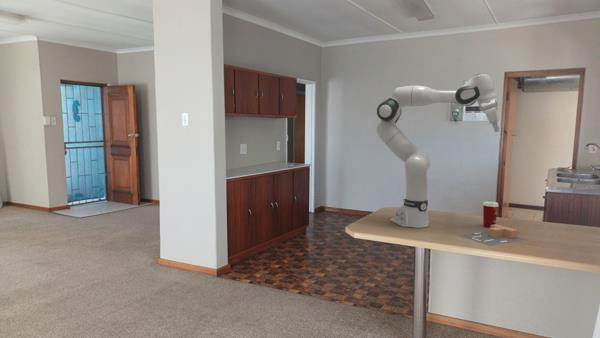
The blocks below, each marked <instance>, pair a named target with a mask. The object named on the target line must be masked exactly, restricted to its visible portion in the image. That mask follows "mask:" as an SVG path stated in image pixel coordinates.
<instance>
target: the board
mask: <svg viewBox="0 0 600 338" xmlns="http://www.w3.org/2000/svg"><path fill="white" fill-rule="evenodd" d="M488 231H489V230H487V231H485V230H484V231H480V232H479V231H478V232H472V233H466V234H460V235H459V234H458V236H459V237H461V238H465V239H468V240H471V241H473V242H477V243H480V244H483V245H486V246H495V245H501V244H507V243H513V242H517V241H518V242H519V241H524V240H526V238H525V237H520V236H518V235H517V238H515V239H509V238H506V237H501V238H492V237H489V236H488Z"/></svg>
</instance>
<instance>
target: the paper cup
mask: <svg viewBox="0 0 600 338" xmlns="http://www.w3.org/2000/svg"><path fill="white" fill-rule="evenodd" d="M482 205H483V208H482V209H483V213H482V214H483V217H482V218H483V219H482V220H483V221H482V222H483V227H484V228H487V229H489V228H490V226H491V225H495V224H497V216H498V211H499V210H498V208H499V203H498V202H496V201H487V200H486V201H483V203H482Z"/></svg>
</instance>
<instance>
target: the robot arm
mask: <svg viewBox="0 0 600 338" xmlns="http://www.w3.org/2000/svg"><path fill="white" fill-rule="evenodd" d="M476 102H477V104H478V108H479V109H480V112H483V113H484V114H485V116H486V118H487V120H488V122H489V124H492V128H493V130H494V133H497V132H499V131H500V128H499V124H498V122H499V118H498V111H497V110H498V107H499V106H500V102H499V99H498V96H497V94H496V93H495V86H494V84H493V81H492V79H491V77H490V75H489V74H488V73H478V74H474V75H472V76H471V78H470V79H469V80H468V81H467V82H466V83H465V84H463V85H462V86H461V87H459V88H457V90H438V89H434V88H431V87H428V86H425V85H424V86H423V85H406V86H405V85H404V86H399V87H396V88H395V89H394V90H393V92H392V96H391V97H390V98H387V99H386V100H384V101H382V102H381V103H379V105H377V108H376V114H377V117H378V118H379V119H380V120H381V121H380V122H379V124H378V125H377V126H376V133H377V135H378V136H379V138H380V139H381V141H382V142H383V143H384V144H385V146H386V147H387V148H388V149H389V150H390V151H391V152H392V153H393V154H394V155H395V157H397V158H399V159H400V160H401V161H402V162H403V163H405V164H404V166H405V167H404V169H405V181H406V183H405V185H406V191H405V198H404V199H402V201H403V205H400V207H399V208H397V209H396V210H395V212H394V213H395V214H394V217H392V218H390V221H391V222H393V223H395V224H397V225H398V226H400V227H405V228H407V227H408V228H420V229H421V228H428V227H429V226H430V220H429V209H428V206H429V201H428V175H427V172H428V169H429V168H430V167H431V166H430V165H431V161H430V159H429V157H428V156H427V155H426V154H425V153H424V152H423V151H422V150H421V149H420V148H419V147H418V146H416V144H414V143H413V142H412V141H411V140H410V139H409V138H408V136H407V135H405V134H404V133H403V132H402V130H401V129H400V128H399V127H398V126H397V122H398V120H399V119H400V117H401V115H402V109H403V108H405V107H423V106H428V105H432V104H438V103H443V104H444V103H454V104H458V105H461V106H463V107H470V106H473V105H475V103H476Z"/></svg>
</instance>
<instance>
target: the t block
mask: <svg viewBox="0 0 600 338" xmlns="http://www.w3.org/2000/svg"><path fill="white" fill-rule="evenodd" d="M487 231H488V236H489V237H492V238H501V237H506V238H509V239H515V238H517V236H518V232H519V231H518V229H515V228H511V227H507V226H504V225H500V224H497V223H496V224H495V225H491V226H490V228H488V230H487Z"/></svg>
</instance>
